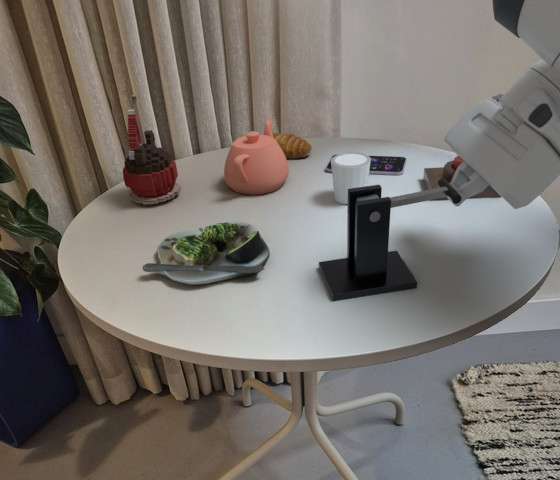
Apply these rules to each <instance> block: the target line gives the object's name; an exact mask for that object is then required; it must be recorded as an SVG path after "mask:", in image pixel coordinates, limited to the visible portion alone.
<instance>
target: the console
mask: <svg viewBox="0 0 560 480" xmlns="http://www.w3.org/2000/svg"><path fill="white" fill-rule="evenodd" d="M453 164H454V159H453V160H450V161H447V162H446V163H445V164H444V165H443V167H424V168H423V176H422V177H423V178H422V180H423V183H424V187H425V189H426V190H430V189H435V188H439V187H438V185H437V183H438V181H439V180H440V179H445V180H446V181H447V182H448V183H450V182H451V180H452V178H453V176H454V174H455V172H456V170H455V169H453ZM468 181H470V179H468ZM468 181H467V182H468ZM467 182H466V183H467ZM499 198H501V199H502V197H501V196H500V195H499V194H498V193H497V192H496V191H495V190H494V189H493V188H492V187H491V186H490V185H488V186H487V187H486V188H485V189H484V190H483V191H482V192H480V193H478V194H476V195H474V196H472V197H469V198H467V199H466V200H468V199H469V200H470V199H499ZM429 201H430V202H435V201H437V202H438V201H450V200H449V199H448V198H447V197H443V198H438V199H433V200H429Z"/></svg>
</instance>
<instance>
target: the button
mask: <svg viewBox="0 0 560 480" xmlns="http://www.w3.org/2000/svg"><path fill="white" fill-rule="evenodd" d="M453 160H454V164H453V169H455V170H457V167H458V166H459V165H460V164H461V163H462V162H463V160H462V159H461V158H460V157H459V156H458V155H456V156H455V157H454V158H453Z"/></svg>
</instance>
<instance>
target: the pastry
mask: <svg viewBox="0 0 560 480" xmlns="http://www.w3.org/2000/svg"><path fill="white" fill-rule="evenodd" d="M272 134H273V138H274V139H275V140H276V142H277V143H278V145H279V146H280V148H281V149H282V151H283V153H284V155H285V157H286V159H291V160H292V159H294V160H297V159H299V158H305V157H307V156H308V155H310V154H311V152H312V149H313V146H312V144H310V143H309V142H308V141H307V140H306V139H304V138H301V136H296V134H294V133H288V132H283V133H280V132H272Z"/></svg>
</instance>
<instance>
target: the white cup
mask: <svg viewBox="0 0 560 480" xmlns="http://www.w3.org/2000/svg"><path fill="white" fill-rule="evenodd" d="M335 155H336V154H335ZM369 156H370V155H369ZM369 156H368V154H366V153H362V152H361V153H360V152H355V151H354V152H350V151H349V152H343V153H339V155H336V156H334V157H333V158H332V159H331V168H332V172H331V176H332V186H333V195H334V201H335V202H336V201H337V202H336V203H338V202H339V203H338V204H340V203H342V204H341V205H345V204H348V189H351V188H358V187H365V186H369V185H368V184H369V177H370V174H369V170H370V162H371V158H370V157H369Z"/></svg>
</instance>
